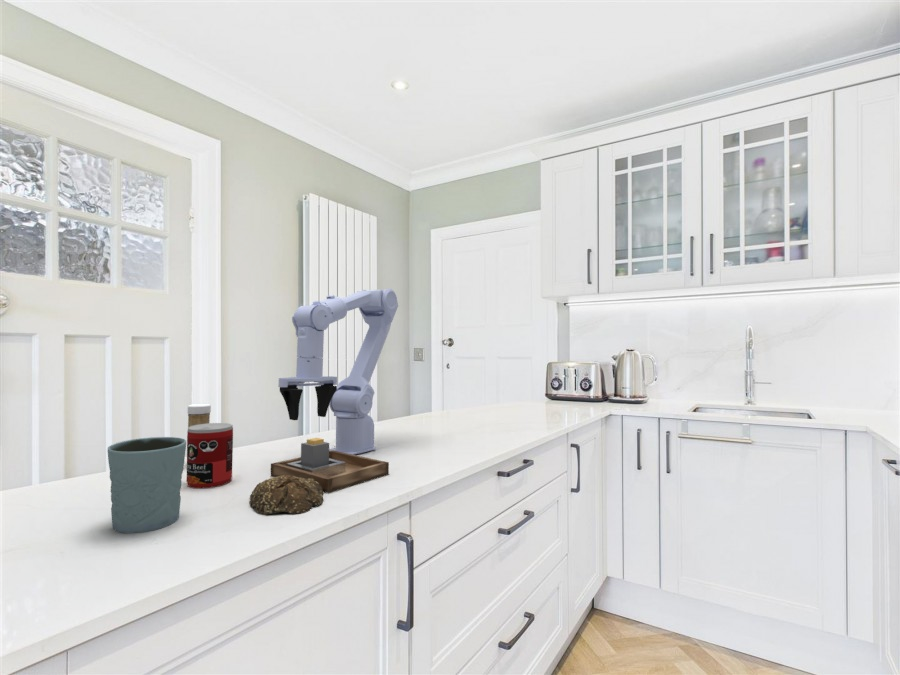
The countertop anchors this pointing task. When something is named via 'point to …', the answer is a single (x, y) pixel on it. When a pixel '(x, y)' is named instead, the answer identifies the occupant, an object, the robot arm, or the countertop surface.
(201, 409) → the sprinkles bottle
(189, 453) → the canned food
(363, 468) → the tray
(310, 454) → the block
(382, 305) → the robot arm
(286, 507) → the bread roll
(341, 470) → the socket
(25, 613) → the countertop surface
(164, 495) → the green plant pot
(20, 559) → the countertop surface
